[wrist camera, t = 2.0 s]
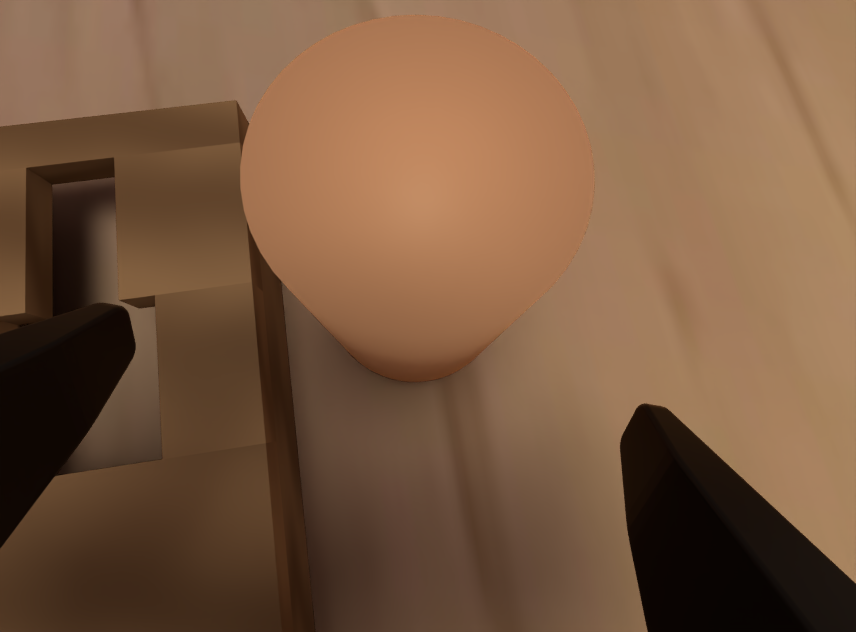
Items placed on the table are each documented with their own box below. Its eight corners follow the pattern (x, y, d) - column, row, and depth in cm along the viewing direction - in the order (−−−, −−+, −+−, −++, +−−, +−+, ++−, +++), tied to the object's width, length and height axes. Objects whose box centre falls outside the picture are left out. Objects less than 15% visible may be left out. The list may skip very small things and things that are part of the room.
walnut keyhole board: (320, 690, 17) (293, 771, 13) (-15, 753, 16) (-150, 860, 12) (269, 159, 21) (236, 100, 17) (-4, 192, 20) (-104, 138, 16)
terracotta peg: (430, 418, 19) (460, 419, 8) (307, 326, 19) (163, 197, 8) (518, 296, 20) (659, 137, 9) (399, 212, 21) (385, -42, 9)
